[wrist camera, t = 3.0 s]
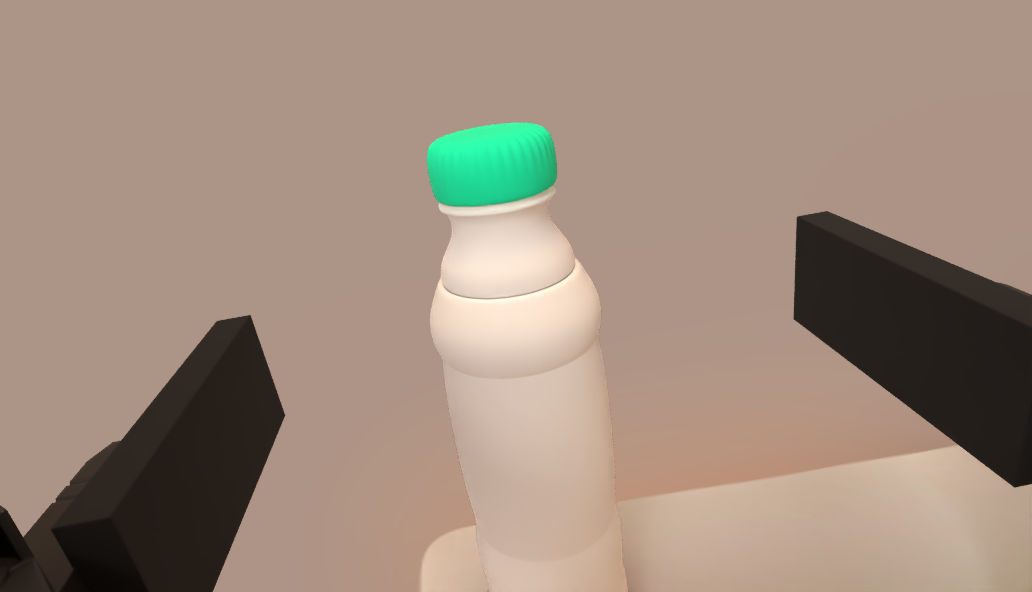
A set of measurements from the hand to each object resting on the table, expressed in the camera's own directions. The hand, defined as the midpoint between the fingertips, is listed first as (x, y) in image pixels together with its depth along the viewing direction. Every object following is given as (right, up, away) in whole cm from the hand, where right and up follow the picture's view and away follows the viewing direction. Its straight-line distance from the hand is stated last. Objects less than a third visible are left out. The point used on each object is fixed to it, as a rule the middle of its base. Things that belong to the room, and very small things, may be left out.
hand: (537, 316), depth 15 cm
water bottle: (+2, -16, +18) cm, 24 cm away
